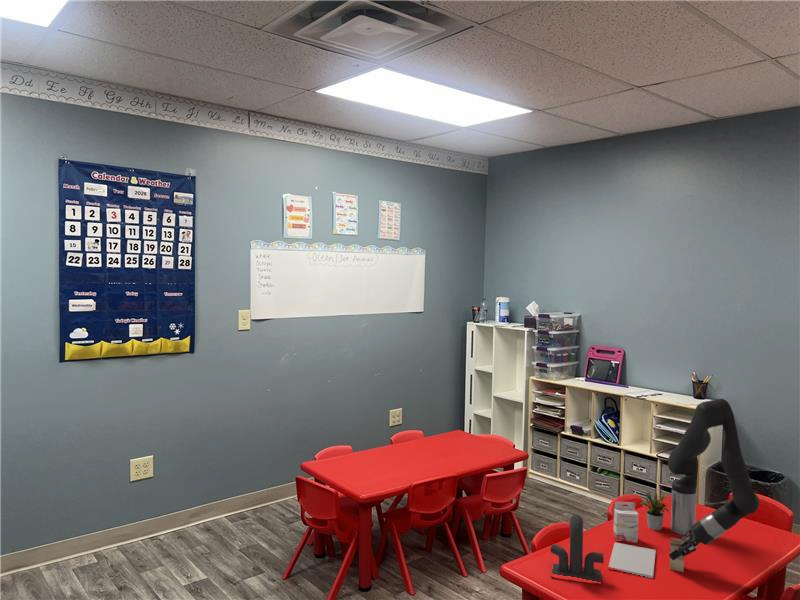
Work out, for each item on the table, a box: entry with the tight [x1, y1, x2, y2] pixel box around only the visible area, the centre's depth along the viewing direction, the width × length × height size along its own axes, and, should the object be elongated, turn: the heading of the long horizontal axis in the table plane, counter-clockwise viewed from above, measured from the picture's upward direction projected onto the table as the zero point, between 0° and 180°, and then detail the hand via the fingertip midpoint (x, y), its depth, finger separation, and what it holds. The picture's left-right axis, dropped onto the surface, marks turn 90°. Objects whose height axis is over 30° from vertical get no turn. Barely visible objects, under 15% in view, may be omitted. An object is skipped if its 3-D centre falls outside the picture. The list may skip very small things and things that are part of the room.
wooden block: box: [669, 537, 685, 573], centre depth 219 cm, size 4×4×10 cm
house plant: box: [635, 488, 671, 531], centre depth 254 cm, size 14×14×16 cm
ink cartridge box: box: [612, 501, 639, 543], centre depth 242 cm, size 9×5×15 cm, turn 84°
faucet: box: [550, 513, 604, 583], centre depth 217 cm, size 18×16×20 cm
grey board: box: [607, 541, 657, 579], centre depth 225 cm, size 22×15×1 cm
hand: (671, 554), depth 220 cm, fingers closed on wooden block, 4 cm apart
